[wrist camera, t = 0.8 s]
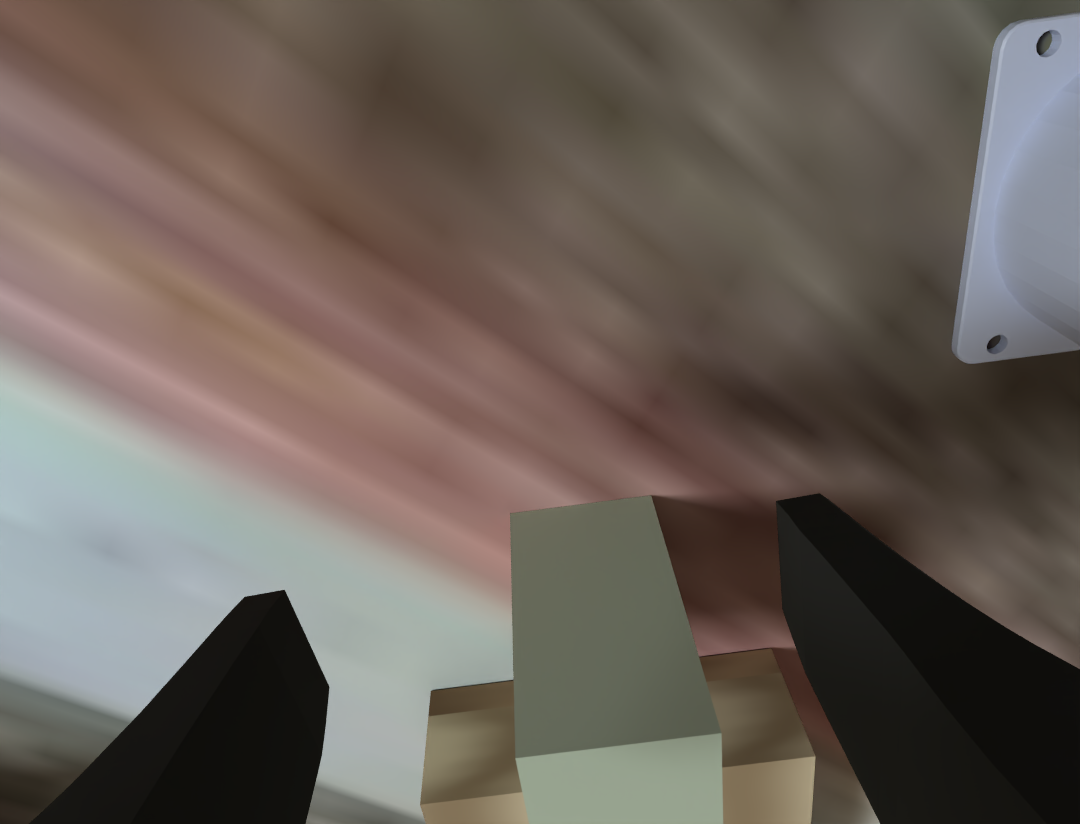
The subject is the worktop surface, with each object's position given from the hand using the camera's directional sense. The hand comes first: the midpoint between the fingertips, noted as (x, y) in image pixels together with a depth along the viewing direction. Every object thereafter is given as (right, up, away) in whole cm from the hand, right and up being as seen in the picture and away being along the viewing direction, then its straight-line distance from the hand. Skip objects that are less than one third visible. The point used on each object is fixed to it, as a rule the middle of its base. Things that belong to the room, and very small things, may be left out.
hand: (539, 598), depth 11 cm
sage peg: (+1, -2, +12) cm, 12 cm away
